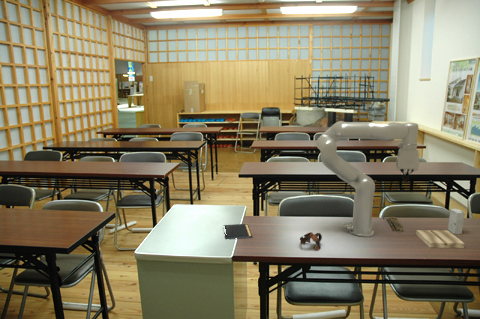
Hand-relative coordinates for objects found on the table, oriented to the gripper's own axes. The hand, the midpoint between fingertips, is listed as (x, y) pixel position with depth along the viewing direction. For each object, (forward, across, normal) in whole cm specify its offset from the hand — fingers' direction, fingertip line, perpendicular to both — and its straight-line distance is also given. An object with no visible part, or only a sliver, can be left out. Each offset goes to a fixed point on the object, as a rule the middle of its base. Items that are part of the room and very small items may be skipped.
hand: (405, 181), depth 186 cm
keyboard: (+29, -1, +11) cm, 31 cm away
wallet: (+30, -89, -6) cm, 94 cm away
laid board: (+28, +19, -11) cm, 36 cm away
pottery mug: (+29, -50, -22) cm, 62 cm away
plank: (+28, +11, -11) cm, 32 cm away
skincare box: (+28, +28, +2) cm, 40 cm away
